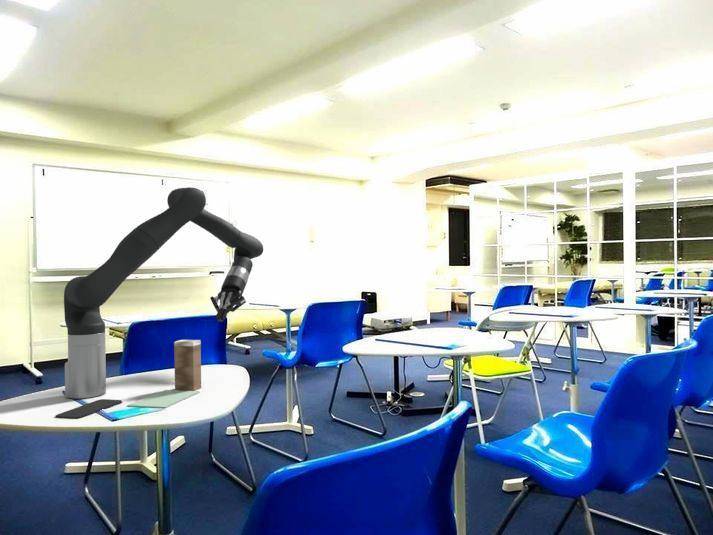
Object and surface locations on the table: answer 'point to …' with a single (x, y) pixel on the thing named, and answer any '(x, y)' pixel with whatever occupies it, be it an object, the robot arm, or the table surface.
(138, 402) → the green mat
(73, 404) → the table surface
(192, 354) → the walnut block
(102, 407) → the phone
